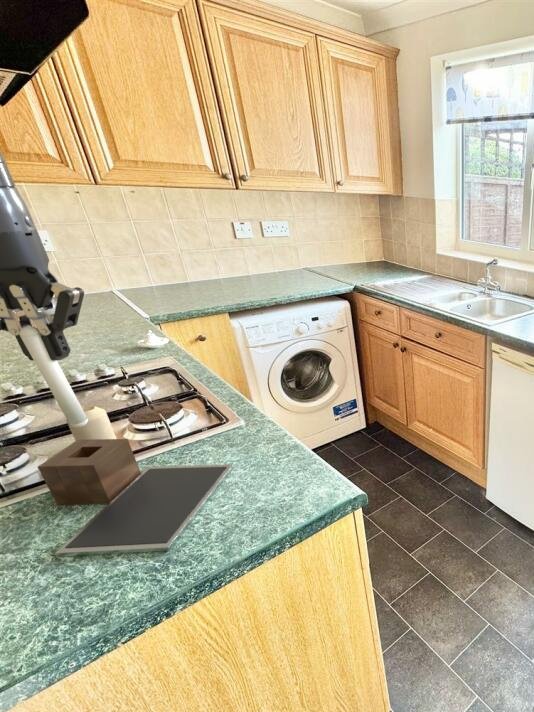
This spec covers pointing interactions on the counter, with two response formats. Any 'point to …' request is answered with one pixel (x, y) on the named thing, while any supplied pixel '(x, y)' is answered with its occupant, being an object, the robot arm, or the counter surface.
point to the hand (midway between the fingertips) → (50, 358)
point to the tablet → (149, 511)
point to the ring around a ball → (152, 341)
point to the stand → (90, 471)
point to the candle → (94, 425)
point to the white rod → (53, 377)
